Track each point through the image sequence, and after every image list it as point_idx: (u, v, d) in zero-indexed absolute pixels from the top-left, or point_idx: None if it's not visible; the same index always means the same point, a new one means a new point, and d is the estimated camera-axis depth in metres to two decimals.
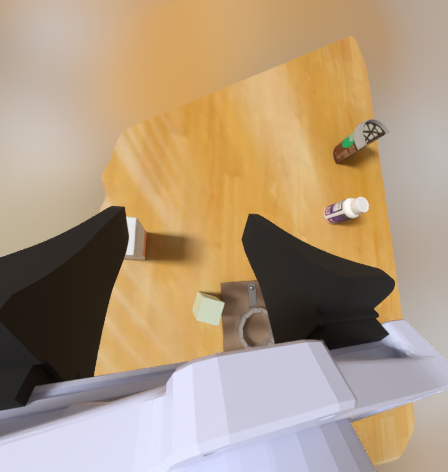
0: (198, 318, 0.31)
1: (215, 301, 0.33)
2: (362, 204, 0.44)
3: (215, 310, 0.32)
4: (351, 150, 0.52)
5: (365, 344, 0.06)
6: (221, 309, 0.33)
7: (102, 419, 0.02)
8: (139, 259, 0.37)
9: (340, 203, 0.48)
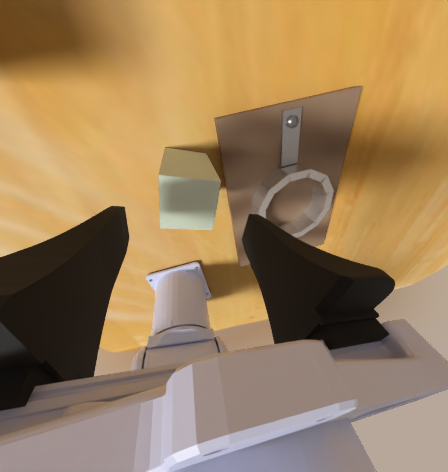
0: (162, 224, 0.13)
1: (195, 181, 0.12)
2: None
3: (199, 202, 0.13)
4: None
5: (365, 344, 0.06)
6: (214, 197, 0.13)
7: (102, 419, 0.02)
8: None
9: None
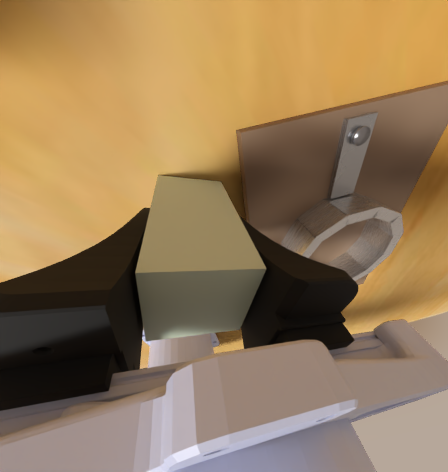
0: (150, 336, 0.07)
1: (214, 273, 0.06)
2: None
3: (220, 301, 0.07)
4: None
5: (329, 351, 0.06)
6: (250, 292, 0.07)
7: (102, 419, 0.02)
8: None
9: None
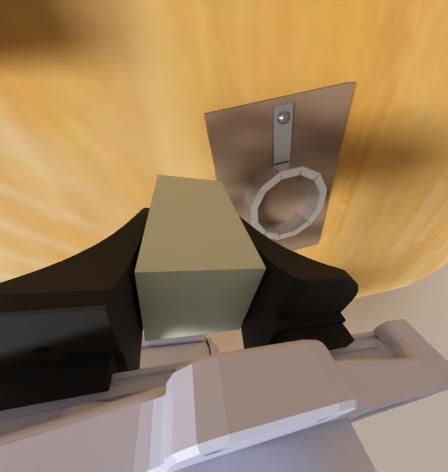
0: (149, 336, 0.07)
1: (214, 273, 0.06)
2: None
3: (220, 301, 0.07)
4: None
5: (329, 351, 0.06)
6: (249, 291, 0.07)
7: (102, 419, 0.02)
8: None
9: None
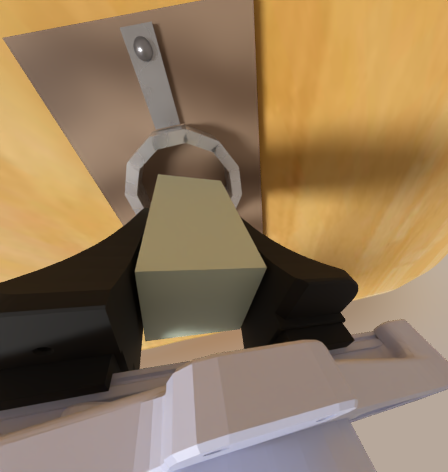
0: (150, 335, 0.07)
1: (214, 272, 0.06)
2: None
3: (220, 300, 0.07)
4: None
5: (329, 351, 0.06)
6: (250, 291, 0.07)
7: (102, 419, 0.02)
8: None
9: None
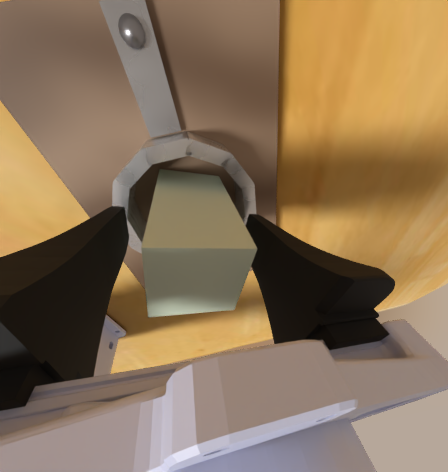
0: (152, 312, 0.08)
1: (210, 251, 0.06)
2: None
3: (216, 279, 0.07)
4: None
5: (365, 344, 0.06)
6: (243, 271, 0.07)
7: (102, 419, 0.02)
8: None
9: None
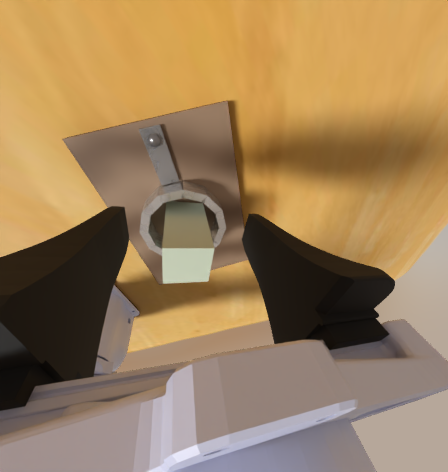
0: (165, 280, 0.16)
1: (192, 250, 0.14)
2: None
3: (196, 263, 0.15)
4: None
5: (365, 344, 0.06)
6: (209, 259, 0.15)
7: (102, 419, 0.02)
8: None
9: None
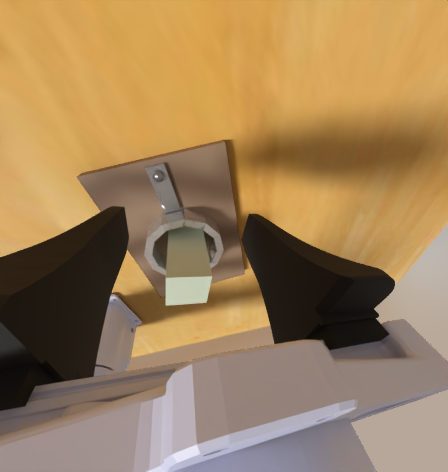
0: (167, 303, 0.17)
1: (192, 278, 0.16)
2: None
3: (195, 288, 0.17)
4: None
5: (365, 344, 0.06)
6: (207, 285, 0.17)
7: (102, 419, 0.02)
8: None
9: None
